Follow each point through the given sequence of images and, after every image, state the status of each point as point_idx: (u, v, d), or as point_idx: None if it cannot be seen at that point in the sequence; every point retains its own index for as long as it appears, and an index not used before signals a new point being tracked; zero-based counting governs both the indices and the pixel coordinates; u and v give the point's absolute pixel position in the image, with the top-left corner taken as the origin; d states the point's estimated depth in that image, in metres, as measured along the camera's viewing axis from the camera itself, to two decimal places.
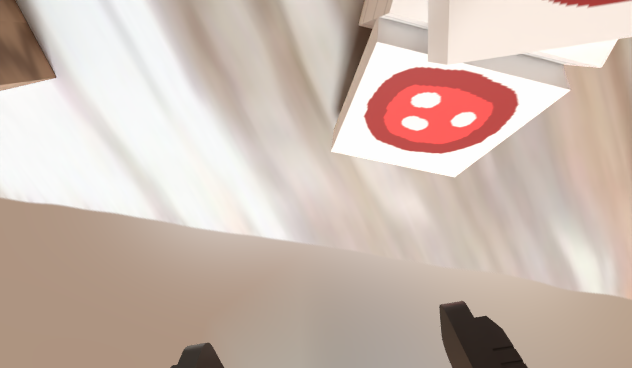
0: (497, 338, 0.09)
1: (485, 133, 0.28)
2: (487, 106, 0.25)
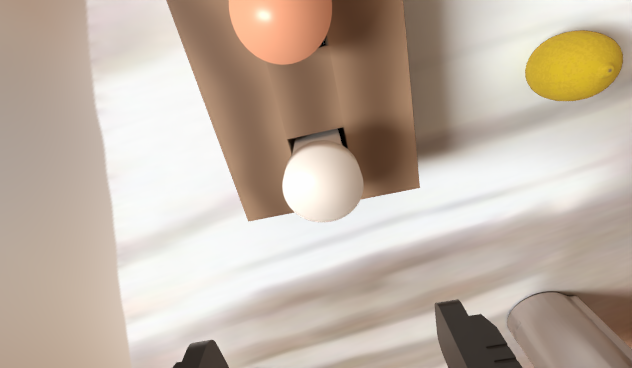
0: (491, 336, 0.09)
1: None
2: None
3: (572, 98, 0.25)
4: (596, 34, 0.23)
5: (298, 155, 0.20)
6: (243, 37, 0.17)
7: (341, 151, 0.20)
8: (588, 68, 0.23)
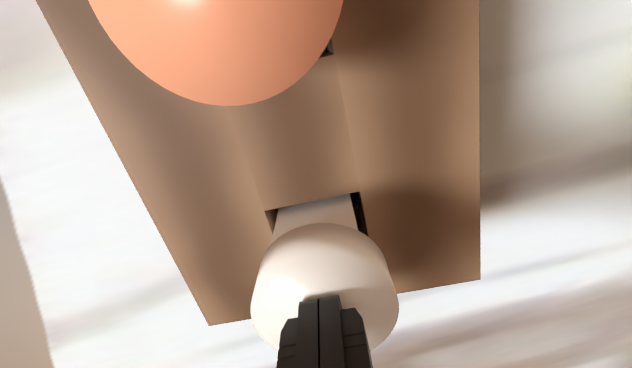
0: (355, 326, 0.10)
1: None
2: None
3: None
4: None
5: (278, 262, 0.11)
6: (126, 42, 0.07)
7: (359, 254, 0.11)
8: None
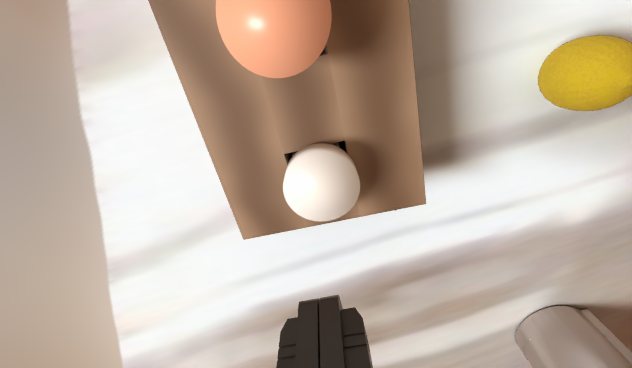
0: (355, 326, 0.10)
1: None
2: None
3: (590, 108, 0.23)
4: (617, 40, 0.21)
5: (298, 158, 0.21)
6: (232, 48, 0.15)
7: (338, 154, 0.21)
8: (609, 77, 0.21)
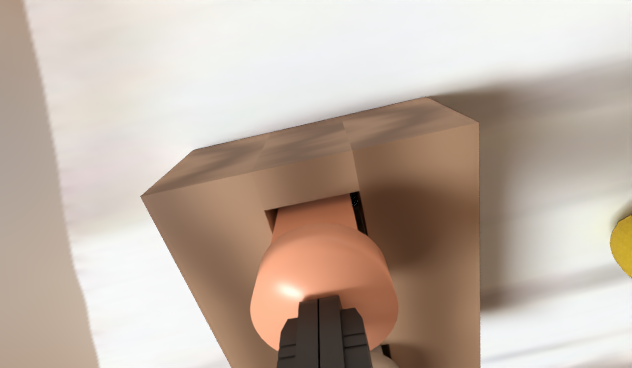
0: (355, 326, 0.10)
1: None
2: None
3: None
4: None
5: None
6: (270, 339, 0.12)
7: None
8: None
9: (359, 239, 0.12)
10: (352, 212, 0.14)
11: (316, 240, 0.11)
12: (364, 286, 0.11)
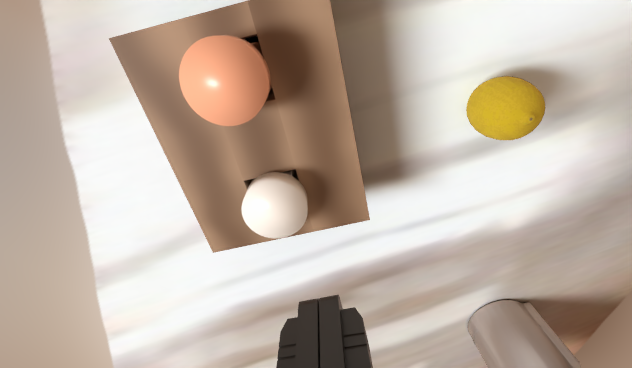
0: (355, 326, 0.10)
1: None
2: None
3: (503, 139, 0.27)
4: (521, 83, 0.25)
5: (253, 187, 0.25)
6: (194, 105, 0.20)
7: (287, 183, 0.25)
8: (513, 116, 0.25)
9: (244, 41, 0.20)
10: (250, 43, 0.22)
11: None
12: (243, 61, 0.19)
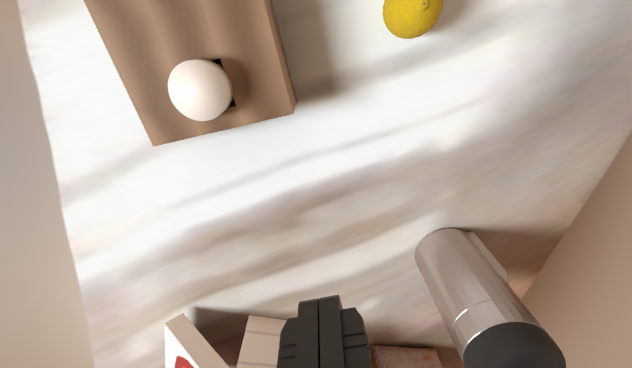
0: (355, 326, 0.10)
1: None
2: None
3: (409, 33, 0.30)
4: None
5: (176, 66, 0.28)
6: None
7: (207, 63, 0.28)
8: (409, 3, 0.28)
9: None
10: None
11: None
12: None
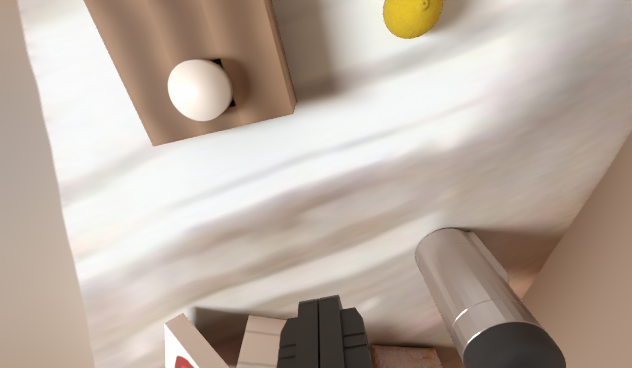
0: (355, 326, 0.10)
1: None
2: None
3: (409, 33, 0.30)
4: None
5: (177, 66, 0.28)
6: None
7: (207, 63, 0.28)
8: (409, 3, 0.28)
9: None
10: None
11: None
12: None
